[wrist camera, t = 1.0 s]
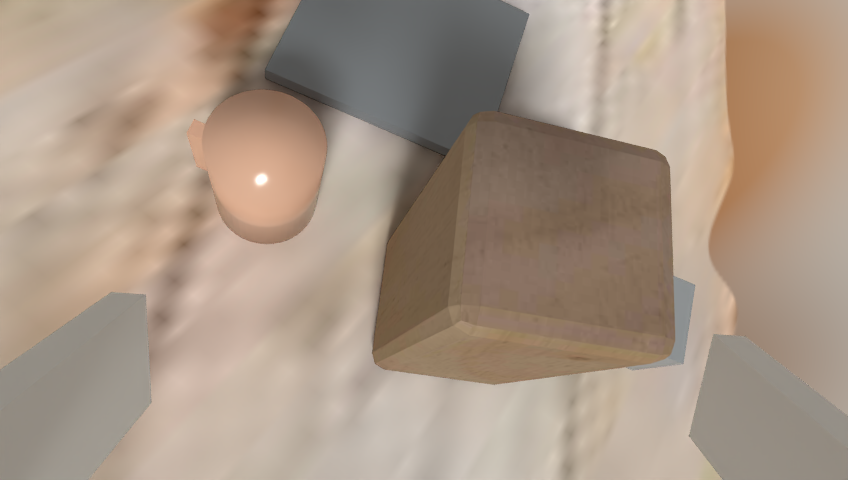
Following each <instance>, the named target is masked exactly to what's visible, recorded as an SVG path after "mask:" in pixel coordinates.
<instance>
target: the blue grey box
mask: <svg viewBox="0 0 848 480" xmlns="http://www.w3.org/2000/svg"><path fill="white" fill-rule="evenodd" d="M673 280H674V311H675V343H674V347H673V350H672V353H671V355H670V356H668V357H667V358H666V359H664V360H661V361H658V362H654V363H651V364H645V365H638V366H630V367H626V368H628V369H631V370H639V369H647V368H656V367H664V366H672V365H680V364H683V363H684V356H685V350H686V343H687V336H688V330H689V323H690V316H691V310H692V303H693V297H694V290H695V285H694V284H692V283H689V282H687V281H685V280H682V279H680V278H677V277H675V276H673Z"/></svg>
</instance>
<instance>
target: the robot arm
mask: <svg viewBox="0 0 848 480" xmlns="http://www.w3.org/2000/svg"><path fill="white" fill-rule="evenodd" d="M151 402H152V401H151V383H150V365H149V346H148V328H147V309H146V295H144V294H129V293H115V292H111V293H109V294H108V295H107V296H105V297H104V298H102V299H101V300H99V301H98V302H96V303H95V304H94V305H92V306H91V307H89V308H88V309H86V310H85V311H84V312H82V313H81V314H79V315H78V316H76V317H75V318H74V319H72V320H71V321H69V322H68V323H66V324H65V325H64V326H62V327H61V328H59V329H58V330H56V331H55V332H53V333H52V334H51V335H49V336H48V337H46V338H45V339H43V340H42V341H41V342H39V343H38V344H36V345H35V346H33V347H32V348H31V349H29V350H28V351H26V352H25V353H23V354H22V355H21V356H19V357H18V358H16V359H15V360H13V361H12V362H10V363H9V364H8V365H6V366H5V367H3V368H2V369H0V480H88V479H89V478H90V477H91V476H92V475H93V473H94V472H95V471H96V470H97V468H98V467H99V466H100V465H101V464H102V462H103V461H104V460H105V459H106V457H107V456H108V455H109V454H110V453H111V451H112V450H113V449H114V448H115V446H116V445H117V444H118V443H119V442H120V440H121V439H122V438H123V437H124V435H125V434H126V433H127V432H128V430H129V429H130V428H131V427H132V426H133V424H134V423H135V422H136V421H137V419H138V418H139V417H140V416H141V415H142V413H143V412H144V411H145V410H146V408H147V407H148V406H149V405H150V404H151ZM689 437H690V438H691V439H692V441H693V442H694V443H695V444H696V446H697V447H698V448H699V450H700V451H701V452H702V453H703V455H704V456H705V457H706V459H707V460H708V461H709V463H710V464H711V465H712V466H713V468H714V469H715V470H716V472H717V473H718V474H719V475H720V477H721V478H722V479H723V480H848V416H847V415H846V414H845V413H843V412H842V411H841V410H840V409H838V408H837V407H836V406H834V405H833V404H832V403H831V402H829V401H828V400H827V399H825V398H824V397H823V396H821V395H820V394H819V393H818V392H816V391H815V390H814V389H812V388H811V387H810V386H809V385H807V384H806V383H805V382H804V381H802V380H801V379H800V378H798V377H797V376H796V375H794V374H793V373H792V372H791V371H789V370H788V369H787V368H785V367H784V366H783V365H782V364H780V363H779V362H778V361H776V360H775V359H774V358H773V357H771V356H770V355H768V354H767V353H766V352H765V351H763V350H762V349H761V348H760V347H758V346H757V345H756V344H754V343H753V342H752V341H750V340H749V339H748V338H747V337H745V336H732V335H718V334H713V338H712V342H711V346H710V351H709V355H708V359H707V363H706V367H705V371H704V376H703V380H702V384H701V388H700V392H699V396H698V401H697V405H696V409H695V413H694V417H693V421H692V426H691V430H690V434H689Z"/></svg>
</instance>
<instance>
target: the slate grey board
mask: <svg viewBox="0 0 848 480" xmlns="http://www.w3.org/2000/svg"><path fill="white" fill-rule="evenodd" d="M528 17H529V14H528V13H526V12H524V11H522V10H520V9H518V8H516V7H513V6H511V5H509V4H507V3H505V2H503V1H501V0H301V2H300V4H299V6H298V8H297V10H296V12H295V13H294V15H293V17H292V19H291V21H290V23H289V25H288V27H287V29H286V31H285V32H284V34H283V36H282V38H281V40H280V42H279V44H278V46H277V48H276V50H275V52H274V53H273V55H272V57H271V59H270V61H269V63H268V65H267V67H266V69H265V78H266V79H268V80H270V81H273V82H275V83H277V84H280V85H282V86H284V87H287V88H289V89H291V90H294V91H296V92H298V93H301V94H303V95H305V96H308V97H310V98H312V99H315V100H317V101H319V102H322V103H324V104H326V105H329V106H331V107H333V108H335V109H338V110H340V111H342V112H345V113H347V114H349V115H352V116H354V117H356V118H359V119H361V120H363V121H366V122H368V123H370V124H373V125H375V126H377V127H380V128H382V129H384V130H387V131H389V132H391V133H394V134H396V135H398V136H401V137H403V138H405V139H408V140H410V141H412V142H414V143H417V144H419V145H421V146H424V147H426V148H428V149H431V150H433V151H435V152H438V153H440V154H442V155H445V156H446V155H447V153H448V152H449V150H450V149H451V147H452V146H453V144H454V143H455V141H456V140H457V138H458V137H459V135H460V134H461V132H462V131H463V130H464V128H465V127H466V125H467V124H468V122H469V121H470V119H471V118H472V116H473V115H474V114H477V113H479V112H484V111H497V112H498V109H499V106H500V103H501V100H502V97H503V93H504V90H505V87H506V84H507V81H508V78H509V75H510V72H511V69H512V66H513V63H514V60H515V57H516V54H517V51H518V47H519V44H520V41H521V38H522V35H523V32H524V29H525V26H526V23H527V20H528Z"/></svg>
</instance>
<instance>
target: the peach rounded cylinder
mask: <svg viewBox="0 0 848 480" xmlns="http://www.w3.org/2000/svg"><path fill="white" fill-rule="evenodd" d="M187 136H188V139H189V142H190V146H191V149H192V152H193V156H194V159H195V162H196V166H197V167H199V168H201V169H204V170H206V171H208V174H209V177H210V181H211V185H212V189H213V193H214V196H215V200H216V204H217V208H218V211H219V214H220V216H221V218H222V220H223V221H224V223H225V224H226V225H227V227H228V228H229V229H230V230H231V231H233V232H234V233H235V234H236V235H238V236H240V237H241V238H243V239H246V240H248V241H251V242H255V243H260V244H274V243H280V242H283V241H286V240H288V239H291V238H293V237H294V236H296V235H298V234H299V233H300V232H301V231H302V230H303V229H304V228H305V227H306V226H307V225H308V223H309V222H310V220H311V218H312V216H313V214H314V211H315V207H316V202H317V197H318V192H319V188H320V183H321V178H322V174H323V169H324V164H325V159H326V154H327V139H326V135H325V131H324V129H323V126H322V124H321V122H320V120H319V119H318V117H317V116H316V115H315V113H314V112H313V111H312V110H311V109H310V108H309V107H308V106H307V105H305V104H304V103H303V102H301V101H300V100H298V99H297V98H295V97H293V96H291V95H288V94H285V93H283V92H279V91H274V90H263V89H258V90H250V91H245V92H241V93H238V94H236V95H234V96H231V97H229V98H228V99H226V100H225V101H223V102H222V103H221V104H220V105H218V106H217V107H216V108H215V110H214V111H213V112H212V113H211V115H210V116H209V118H208V119H207V122H206V124H204V123H202V122H199V121H197V120H195V119H194V121H193V122H192V124H191V126H190V128H189V129H188V131H187Z"/></svg>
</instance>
